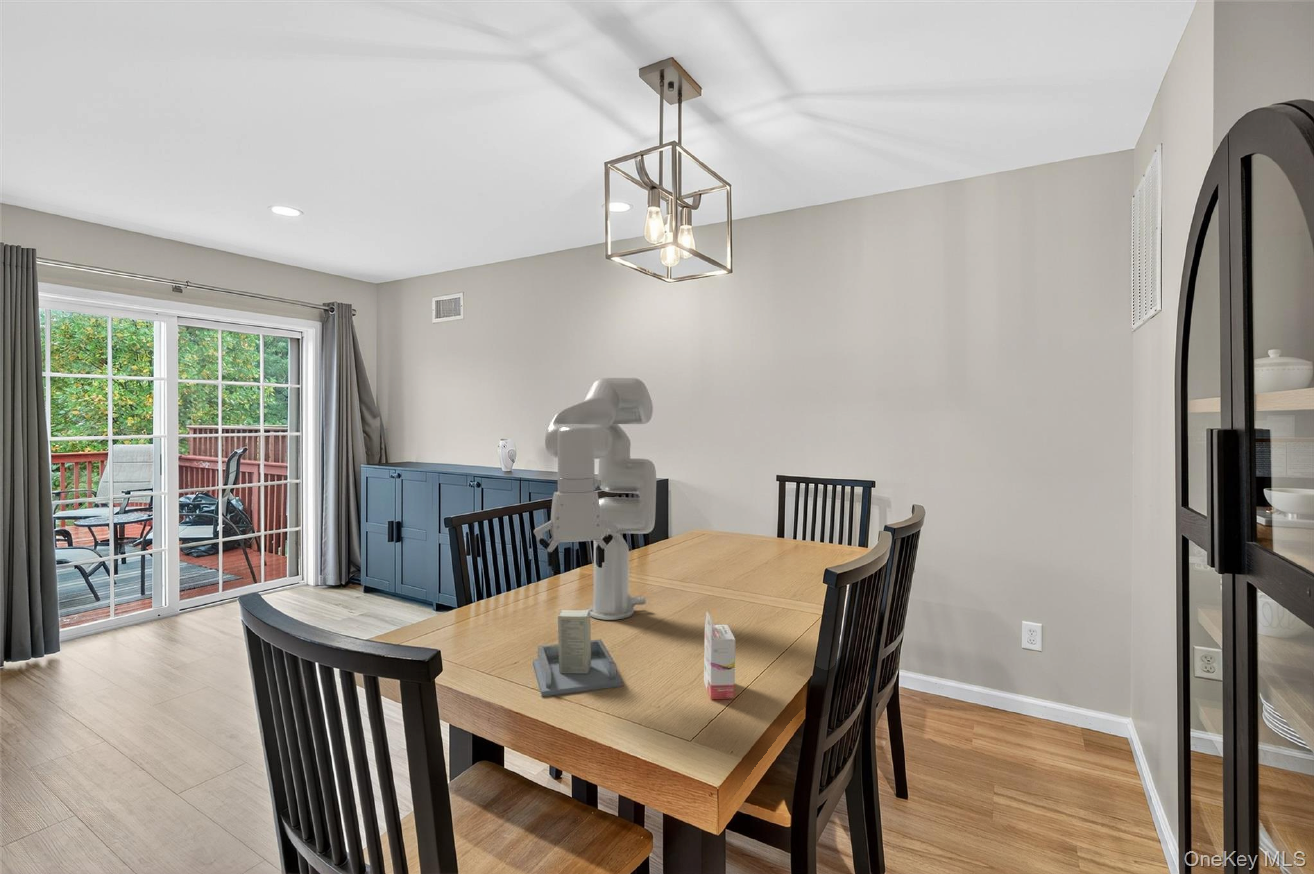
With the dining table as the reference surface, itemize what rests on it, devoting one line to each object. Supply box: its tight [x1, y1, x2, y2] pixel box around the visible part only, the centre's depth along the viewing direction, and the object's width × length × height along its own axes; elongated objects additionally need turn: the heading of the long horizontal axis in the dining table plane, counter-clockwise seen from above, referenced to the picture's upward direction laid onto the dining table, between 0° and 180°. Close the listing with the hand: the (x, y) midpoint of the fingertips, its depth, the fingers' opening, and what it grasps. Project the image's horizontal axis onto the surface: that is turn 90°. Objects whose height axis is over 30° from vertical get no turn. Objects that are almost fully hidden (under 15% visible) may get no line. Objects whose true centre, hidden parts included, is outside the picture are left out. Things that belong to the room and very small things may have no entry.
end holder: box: [532, 639, 623, 697], centre depth 128 cm, size 16×16×4 cm
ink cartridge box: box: [703, 611, 736, 700], centre depth 121 cm, size 9×5×15 cm, turn 5°
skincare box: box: [557, 609, 592, 674], centre depth 127 cm, size 6×4×12 cm
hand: (576, 567), depth 127 cm, fingers open, 9 cm apart
